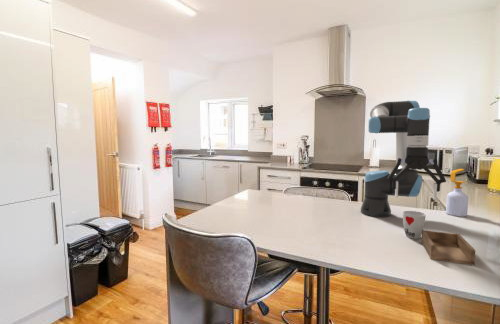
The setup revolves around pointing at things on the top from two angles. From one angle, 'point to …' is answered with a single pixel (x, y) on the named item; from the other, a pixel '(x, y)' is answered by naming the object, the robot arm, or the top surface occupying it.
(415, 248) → the top surface
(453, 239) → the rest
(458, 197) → the soap bottle
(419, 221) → the cup
